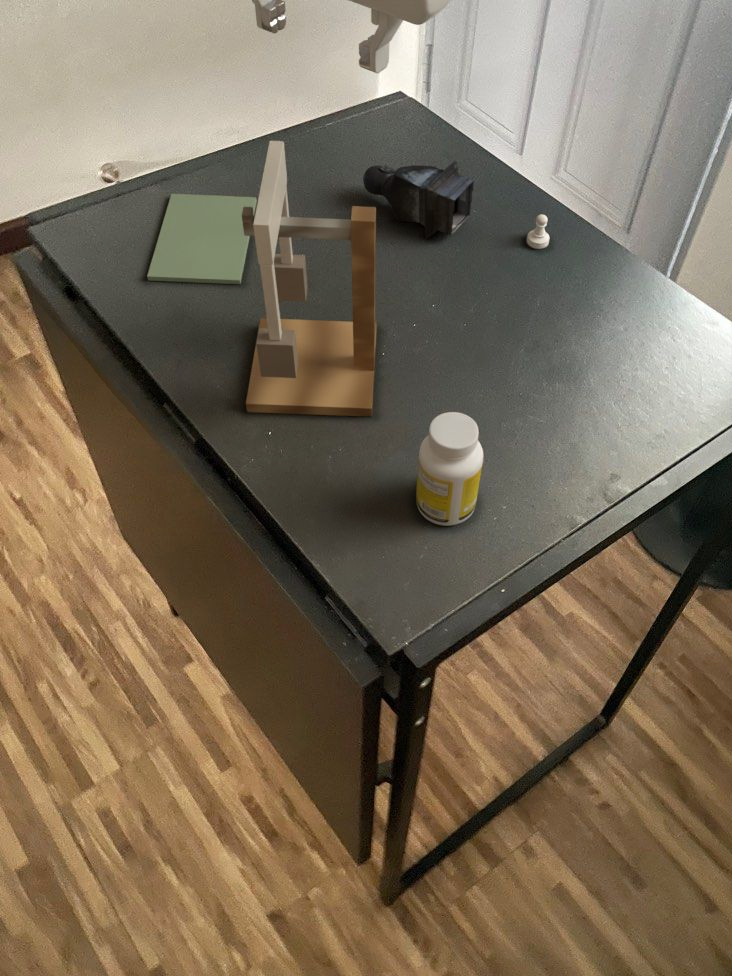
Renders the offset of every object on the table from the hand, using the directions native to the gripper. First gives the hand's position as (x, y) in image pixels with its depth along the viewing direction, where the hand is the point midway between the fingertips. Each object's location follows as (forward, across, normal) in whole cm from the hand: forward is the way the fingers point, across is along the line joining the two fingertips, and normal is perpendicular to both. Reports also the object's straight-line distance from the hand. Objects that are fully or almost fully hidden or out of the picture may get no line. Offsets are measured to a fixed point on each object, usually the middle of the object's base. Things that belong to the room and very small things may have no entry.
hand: (321, 47), depth 62 cm
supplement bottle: (+29, +21, -11) cm, 37 cm away
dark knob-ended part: (+29, -4, +23) cm, 37 cm away
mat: (+29, -22, +5) cm, 36 cm away
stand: (+29, +1, -5) cm, 29 cm away
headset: (+24, -1, -6) cm, 25 cm away
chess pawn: (+29, +10, +27) cm, 41 cm away
